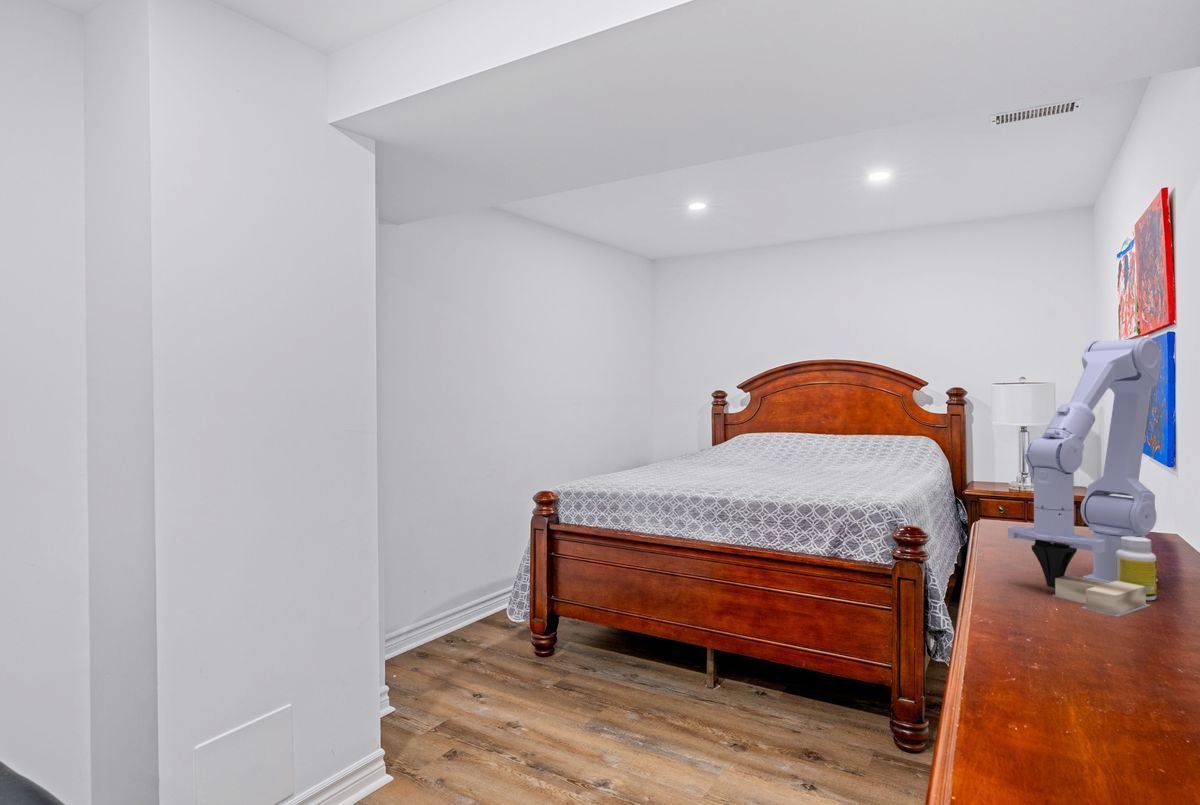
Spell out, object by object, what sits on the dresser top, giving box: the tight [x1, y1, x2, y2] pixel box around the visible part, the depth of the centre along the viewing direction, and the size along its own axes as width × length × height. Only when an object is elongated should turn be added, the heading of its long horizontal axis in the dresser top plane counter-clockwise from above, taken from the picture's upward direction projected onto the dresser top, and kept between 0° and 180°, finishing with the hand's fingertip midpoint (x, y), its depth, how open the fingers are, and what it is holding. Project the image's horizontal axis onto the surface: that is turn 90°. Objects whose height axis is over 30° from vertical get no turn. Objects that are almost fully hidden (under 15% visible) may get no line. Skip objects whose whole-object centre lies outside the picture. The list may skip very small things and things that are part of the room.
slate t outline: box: [1050, 594, 1152, 618], centre depth 110 cm, size 11×11×1 cm
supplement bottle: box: [1116, 536, 1158, 601], centre depth 113 cm, size 5×5×10 cm
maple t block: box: [1054, 574, 1147, 615], centre depth 110 cm, size 10×10×3 cm
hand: (1054, 586), depth 115 cm, fingers closed
